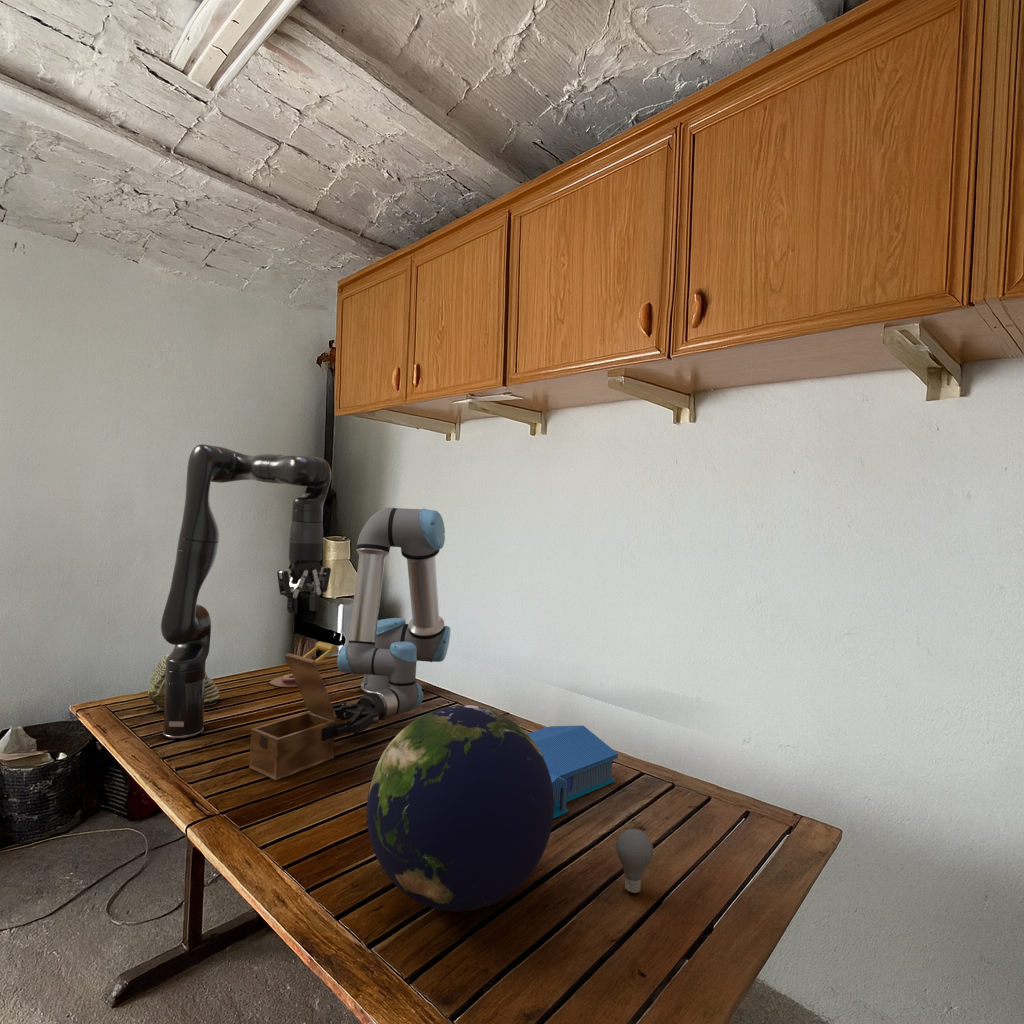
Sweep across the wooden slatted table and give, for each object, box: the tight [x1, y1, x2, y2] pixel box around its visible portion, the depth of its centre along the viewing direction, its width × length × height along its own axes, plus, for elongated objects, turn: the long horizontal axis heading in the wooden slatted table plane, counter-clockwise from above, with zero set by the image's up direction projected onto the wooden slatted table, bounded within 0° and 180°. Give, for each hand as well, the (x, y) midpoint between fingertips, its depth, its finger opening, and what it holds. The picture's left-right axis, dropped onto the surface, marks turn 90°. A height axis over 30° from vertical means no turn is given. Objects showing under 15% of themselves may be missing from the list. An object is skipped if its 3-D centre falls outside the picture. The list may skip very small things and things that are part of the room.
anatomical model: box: [269, 673, 298, 688], centre depth 212 cm, size 13×4×12 cm
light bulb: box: [615, 828, 654, 894], centre depth 106 cm, size 6×6×10 cm
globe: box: [366, 704, 554, 913], centre depth 102 cm, size 30×30×30 cm
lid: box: [284, 640, 338, 721], centre depth 156 cm, size 17×10×9 cm
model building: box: [526, 725, 619, 820], centre depth 140 cm, size 39×24×10 cm, turn 132°
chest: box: [248, 711, 336, 781], centre depth 150 cm, size 16×10×9 cm, turn 146°
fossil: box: [147, 654, 221, 712], centre depth 185 cm, size 9×18×15 cm, turn 132°
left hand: (303, 611), depth 150 cm, fingers open, 5 cm apart
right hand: (308, 729), depth 153 cm, fingers closed on chest, 10 cm apart
